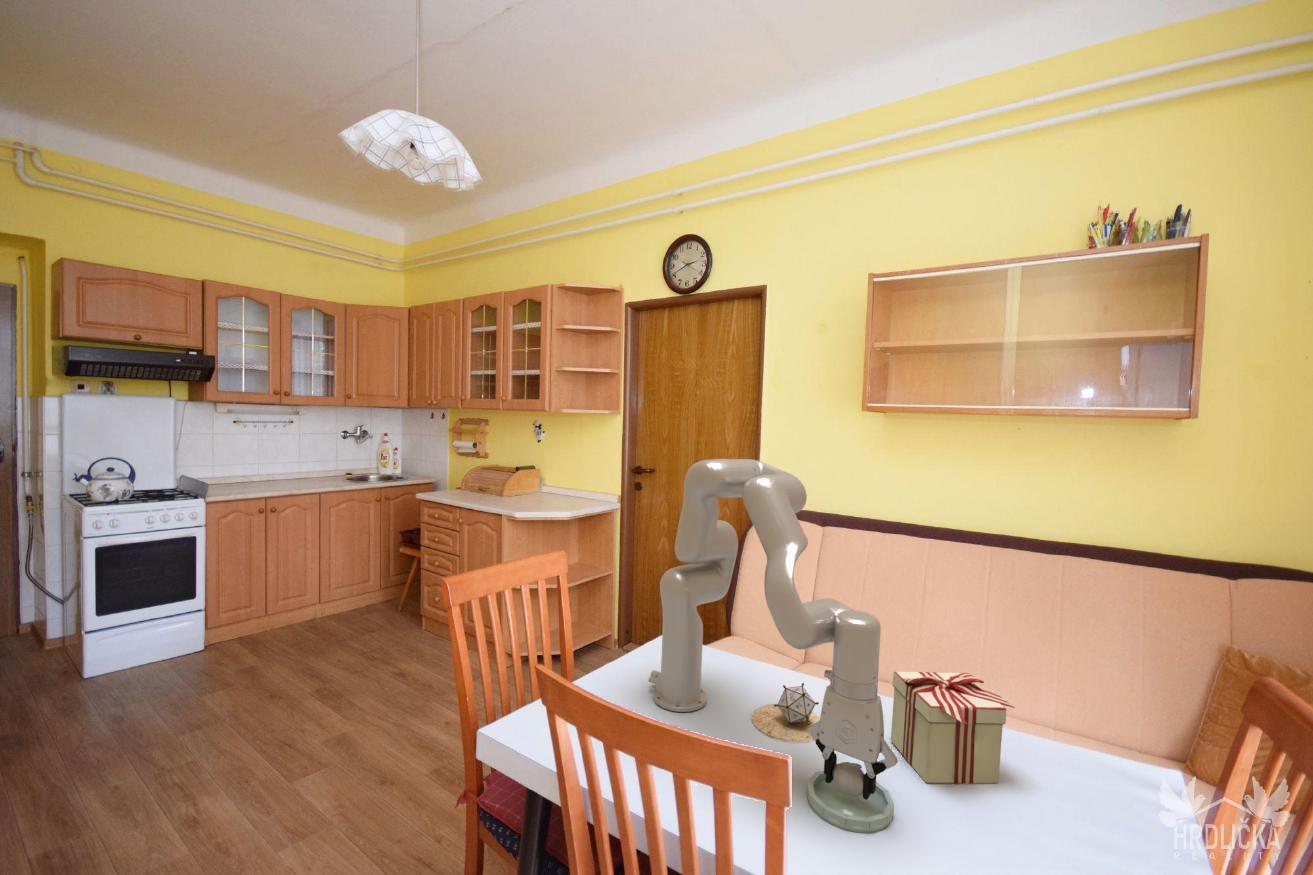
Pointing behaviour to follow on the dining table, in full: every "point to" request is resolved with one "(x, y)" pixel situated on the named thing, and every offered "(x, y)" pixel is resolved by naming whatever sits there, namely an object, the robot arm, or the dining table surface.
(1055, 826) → the dining table surface
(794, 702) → the game die
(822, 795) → the plate
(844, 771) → the garlic
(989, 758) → the gift box
